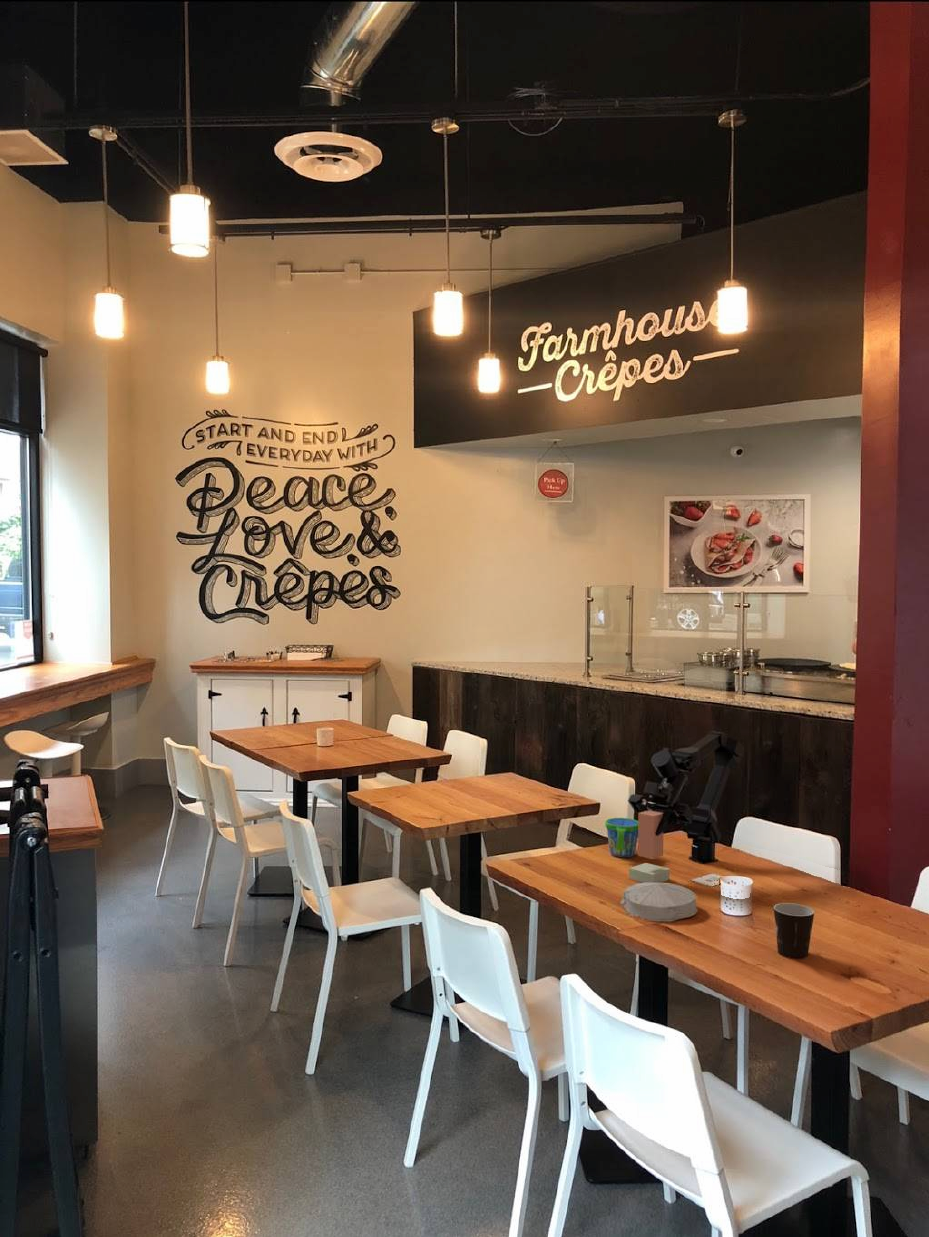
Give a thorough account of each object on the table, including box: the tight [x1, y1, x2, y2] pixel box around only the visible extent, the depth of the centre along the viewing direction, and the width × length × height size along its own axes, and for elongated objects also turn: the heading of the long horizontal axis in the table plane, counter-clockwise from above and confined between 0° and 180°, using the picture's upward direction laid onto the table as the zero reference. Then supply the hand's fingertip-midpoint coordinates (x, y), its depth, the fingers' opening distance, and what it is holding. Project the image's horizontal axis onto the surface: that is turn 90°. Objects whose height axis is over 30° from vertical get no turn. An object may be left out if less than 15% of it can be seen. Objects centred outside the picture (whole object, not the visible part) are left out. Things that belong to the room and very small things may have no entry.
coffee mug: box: [773, 902, 815, 960], centre depth 215 cm, size 12×9×10 cm
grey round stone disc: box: [620, 882, 699, 923], centre depth 245 cm, size 20×20×7 cm
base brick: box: [628, 862, 671, 883], centre depth 269 cm, size 8×8×3 cm
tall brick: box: [637, 810, 664, 860], centre depth 269 cm, size 5×5×12 cm
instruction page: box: [691, 873, 724, 888], centre depth 269 cm, size 10×7×1 cm
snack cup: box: [605, 817, 638, 858], centre depth 294 cm, size 16×10×10 cm
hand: (648, 833), depth 268 cm, fingers closed on tall brick, 5 cm apart
